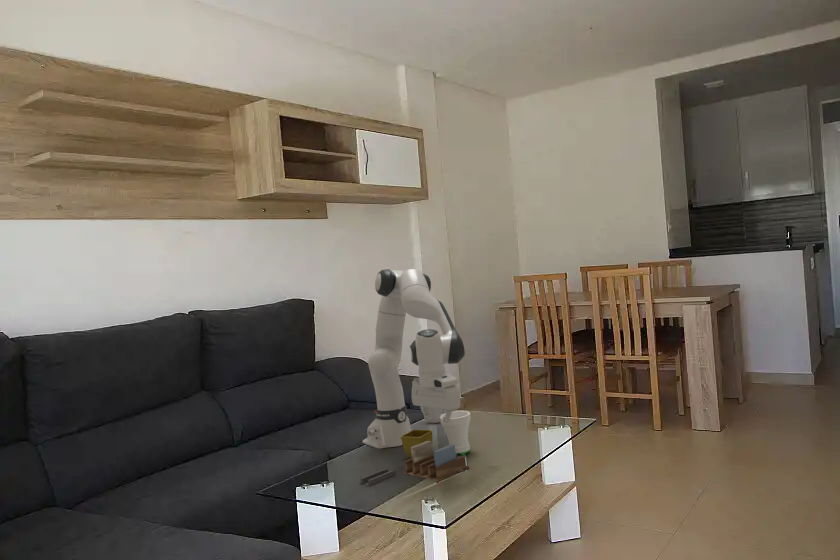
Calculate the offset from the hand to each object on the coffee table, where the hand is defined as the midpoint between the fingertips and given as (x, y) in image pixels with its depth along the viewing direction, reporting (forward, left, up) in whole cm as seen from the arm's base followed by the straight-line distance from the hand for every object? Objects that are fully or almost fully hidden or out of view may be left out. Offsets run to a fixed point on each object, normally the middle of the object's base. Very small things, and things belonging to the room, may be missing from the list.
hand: (437, 420), depth 222 cm
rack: (-5, +1, -18) cm, 19 cm away
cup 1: (-54, +50, -18) cm, 76 cm away
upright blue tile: (+1, +1, -17) cm, 17 cm away
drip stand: (-16, -15, -18) cm, 28 cm away
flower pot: (-23, +10, -18) cm, 31 cm away
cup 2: (-12, +20, -18) cm, 30 cm away
